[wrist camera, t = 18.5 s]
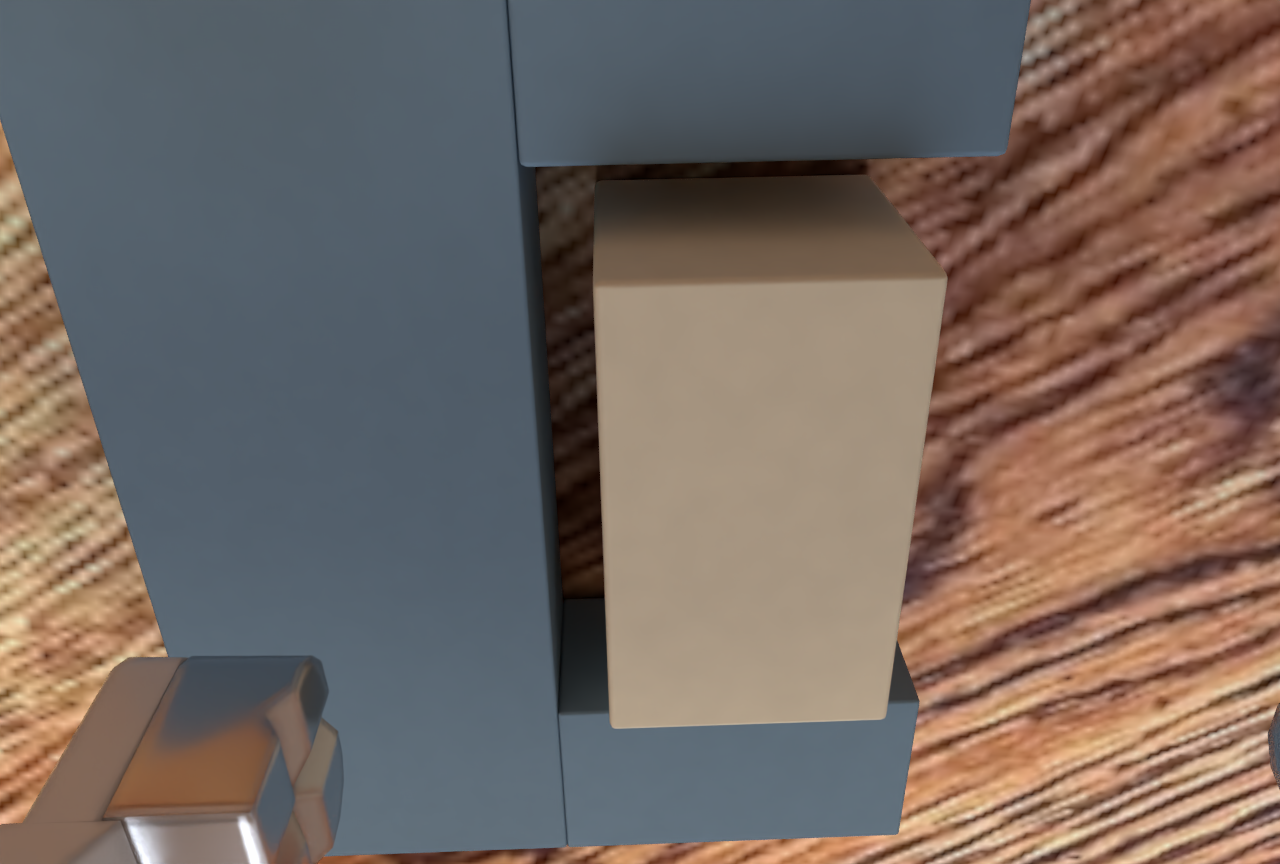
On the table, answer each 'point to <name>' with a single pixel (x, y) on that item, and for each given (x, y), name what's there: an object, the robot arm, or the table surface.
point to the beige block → (757, 443)
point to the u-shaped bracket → (434, 358)
